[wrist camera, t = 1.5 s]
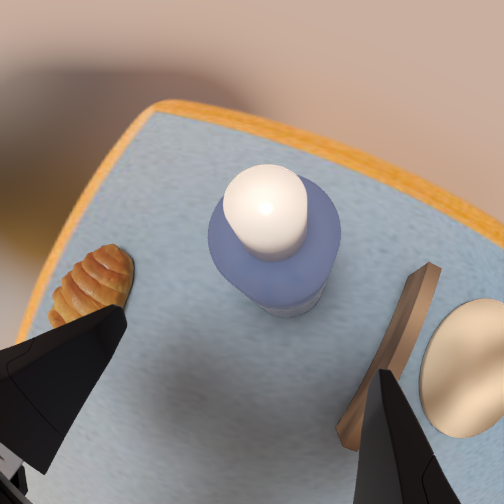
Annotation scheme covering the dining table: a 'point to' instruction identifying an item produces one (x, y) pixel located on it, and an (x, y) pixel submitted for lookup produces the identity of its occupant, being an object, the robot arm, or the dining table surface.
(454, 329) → the disc
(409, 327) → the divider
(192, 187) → the dining table surface
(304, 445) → the dining table surface
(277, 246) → the soy bottle
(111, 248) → the pastry
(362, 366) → the dining table surface
